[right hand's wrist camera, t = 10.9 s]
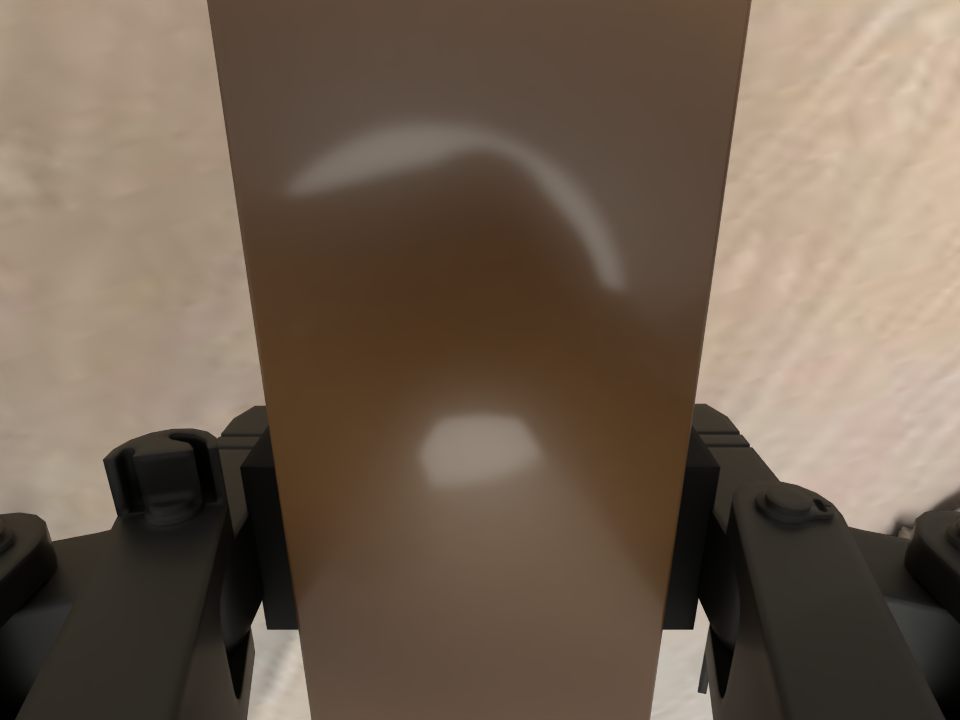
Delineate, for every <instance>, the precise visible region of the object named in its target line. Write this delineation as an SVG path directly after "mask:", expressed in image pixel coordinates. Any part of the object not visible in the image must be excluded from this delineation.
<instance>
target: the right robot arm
mask: <svg viewBox="0 0 960 720" xmlns="http://www.w3.org/2000/svg"><path fill="white" fill-rule="evenodd" d="M103 462H104V466H105V470H106V473H107V477H108V481H109V485H110V489H111V492H112V496H113V500H114V504H115V508H116V511H117V515H118V517H117V519H116V521H115V523H114V525H113V527H112V529H111V530H108V531H104V532H100V533H95V534H89V535H84V536H79V537H74V538H68V539H63V540H58V541H53V542H52V541H51V538H50V534H49V531H48V528H47V525H46V522H45V521H44V520H42V519H41V518H40V517H38V516H37V515H33V514H26V513H11V514H1V515H0V720H247V714H248V706H249V698H250V690H251V681H252V673H253V665H254V657H255V649H254V642H253V636H252V631H251V624H252V622H253V620H254V617H255V615H256V613H257V611H258V608H259V606H260V604H261V602H263V608H264V614H265V620H266V625H267V630H299V629H298V623H297V616H296V609H295V602H294V595H293V588H292V581H291V574H290V567H289V561H288V554H287V547H286V540H285V533H284V526H283V519H282V512H281V506H280V499H279V492H278V485H277V478H276V471H275V464H274V457H273V450H272V444H271V437H270V430H269V423H268V416H267V409H266V406H254V407H252V408H251V409H249V410H247V411H246V412H244V413H242V414H241V415H239V416H237V417H236V418H234V419H233V420H232V421H231V422H230V424H229V425H228V426H227V427H226V429H225V430H224V431H223V432H222V434H221V437H218V439H217V438H216V437H214V436H213V435H212V434H210V433H209V432H207V431H202V430H197V429H170V430H164V431H159V432H153V433H149V434H146V435H143V436H141V437H138V438H135V439H132V440H130V441H128V442H126V443H124V444H122V445H120V446H119V447H117V448H115V449H113V450H112V451H111V452H110V453H109V454H108V455H107V456H106V457H105V458H104V459H103ZM698 598H699V600H700V602H701V604H702V606H703V609H704V611H705V613H706V615H707V618H708V620H709V622H710V625H709V631H708V636H707V642H706V647H705V653H704V658H703V664H702V669H701V675H700V681H699V687H698V692H699V693H704V694H706V692H707V686H708V681H709V688H710V696H711V705H712V713H713V720H960V512H959V511H949V510H937V511H930V512H925V513H923V514H922V515H921V516H919V517H918V518H917V519H916V520H915V524H914V527H913V530H912V533H911V536H910V539H907V538H901V537H896V536H891V535H886V534H880V533H875V532H870V531H864V530H860V529H856V528H852V527H848V525H847V523H846V521H845V519H844V517H843V516H842V514H841V513H840V512H839V511H838V509H837V508H836V507H835V506H834V505H833V504H832V503H831V502H829V501H828V500H826V499H825V498H823V497H822V496H820V495H819V494H817V493H815V492H813V491H810V490H808V489H805V488H803V487H800V486H798V485H794V484H789V483H785V482H780V481H779V480H778V478H777V477H776V476H775V475H774V473H773V472H772V471H771V470H770V469H769V467H768V466H767V465H766V464H765V462H764V461H763V460H762V459H761V457H760V456H759V455H758V454H757V453H756V451H755V450H754V449H753V448H752V447H750V444H749V443H748V441H747V440H746V439H745V438H744V437H743V435H740V432H739V430H738V429H737V428H736V427H735V425H734V424H733V423H732V422H731V421H730V419H729V418H728V417H727V416H725V415H724V414H722V413H720V412H719V411H717V410H715V409H713V408H712V407H710V406H708V405H707V404H694V411H693V418H692V425H691V432H690V439H689V446H688V453H687V460H686V467H685V475H684V482H683V489H682V496H681V503H680V510H679V517H678V524H677V531H676V538H675V545H674V552H673V559H672V566H671V574H670V581H669V588H668V595H667V602H666V609H665V616H664V623H663V630H693V628H694V622H695V616H696V610H697V604H698Z"/></svg>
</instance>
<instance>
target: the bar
mask: <svg viewBox="0 0 960 720" xmlns="http://www.w3.org/2000/svg"><path fill="white" fill-rule="evenodd" d="M751 1H752V0H207V3H208V10H209V17H210V24H211V31H212V37H213V44H214V51H215V58H216V65H217V72H218V79H219V86H220V93H221V99H222V106H223V113H224V120H225V127H226V134H227V141H228V148H229V154H230V161H231V168H232V175H233V182H234V189H235V196H236V203H237V210H238V216H239V223H240V230H241V237H242V244H243V251H244V258H245V265H246V272H247V278H248V285H249V292H250V299H251V306H252V313H253V320H254V327H255V333H256V340H257V347H258V354H259V361H260V368H261V375H262V382H263V389H264V395H265V402H266V409H267V416H268V423H269V430H270V437H271V444H272V450H273V457H274V464H275V471H276V478H277V485H278V492H279V499H280V506H281V512H282V519H283V526H284V533H285V540H286V547H287V554H288V561H289V567H290V574H291V581H292V588H293V595H294V602H295V609H296V616H297V623H298V629H299V636H300V643H301V650H302V657H303V664H304V671H305V678H306V684H307V691H308V698H309V705H310V712H311V719H312V720H650V715H651V708H652V701H653V694H654V687H655V680H656V672H657V665H658V658H659V651H660V644H661V637H662V630H663V623H664V616H665V609H666V602H667V595H668V588H669V581H670V574H671V566H672V559H673V552H674V545H675V538H676V531H677V524H678V517H679V510H680V503H681V496H682V489H683V482H684V475H685V467H686V460H687V453H688V446H689V439H690V432H691V425H692V418H693V411H694V404H695V397H696V390H697V383H698V376H699V369H700V361H701V354H702V347H703V340H704V333H705V326H706V319H707V312H708V305H709V298H710V291H711V284H712V277H713V270H714V262H715V255H716V248H717V241H718V234H719V227H720V220H721V213H722V206H723V199H724V192H725V185H726V178H727V171H728V164H729V156H730V149H731V142H732V135H733V128H734V121H735V114H736V107H737V100H738V93H739V86H740V79H741V72H742V65H743V58H744V50H745V43H746V36H747V29H748V22H749V15H750V8H751Z"/></svg>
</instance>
